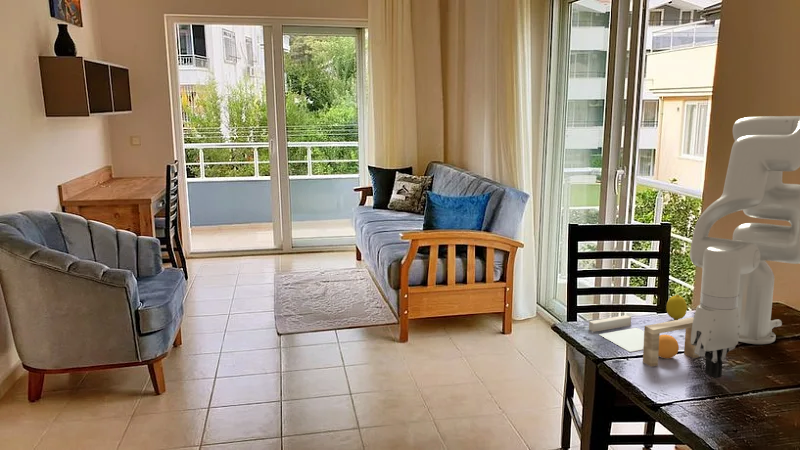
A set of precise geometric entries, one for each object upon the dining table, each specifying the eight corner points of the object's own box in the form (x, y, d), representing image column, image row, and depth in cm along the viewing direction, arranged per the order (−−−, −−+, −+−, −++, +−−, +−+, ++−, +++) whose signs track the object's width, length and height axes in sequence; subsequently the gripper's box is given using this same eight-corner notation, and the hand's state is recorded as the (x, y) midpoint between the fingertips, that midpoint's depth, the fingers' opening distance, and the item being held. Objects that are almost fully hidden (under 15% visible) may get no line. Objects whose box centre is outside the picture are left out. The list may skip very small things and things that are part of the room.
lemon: (688, 324, 172) (690, 298, 171) (668, 323, 173) (669, 297, 172) (683, 317, 178) (685, 292, 176) (663, 316, 179) (665, 291, 177)
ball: (665, 339, 155) (676, 329, 150) (675, 360, 152) (687, 351, 147) (645, 341, 154) (656, 331, 149) (654, 363, 150) (666, 354, 146)
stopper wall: (626, 323, 175) (626, 315, 174) (630, 325, 173) (631, 317, 172) (588, 329, 171) (589, 321, 170) (593, 331, 169) (593, 323, 169)
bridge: (642, 362, 149) (644, 325, 147) (690, 352, 153) (692, 317, 151) (651, 366, 146) (653, 329, 144) (699, 357, 150) (701, 321, 149)
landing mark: (636, 328, 171) (636, 327, 171) (670, 344, 159) (670, 344, 158) (598, 335, 167) (598, 334, 167) (629, 352, 155) (629, 351, 155)
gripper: (730, 291, 139) (724, 363, 143) (679, 299, 135) (675, 374, 138) (758, 301, 132) (751, 376, 136) (705, 310, 128) (700, 388, 131)
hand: (713, 375), depth 137 cm, fingers closed
